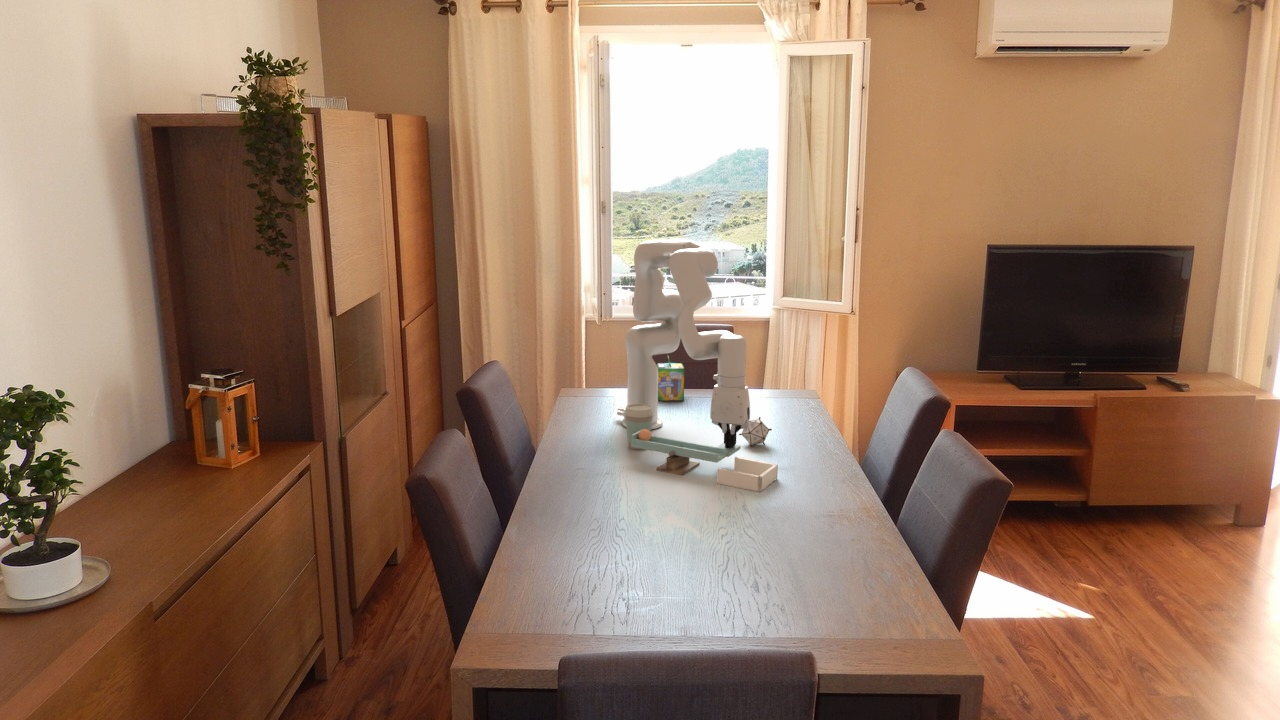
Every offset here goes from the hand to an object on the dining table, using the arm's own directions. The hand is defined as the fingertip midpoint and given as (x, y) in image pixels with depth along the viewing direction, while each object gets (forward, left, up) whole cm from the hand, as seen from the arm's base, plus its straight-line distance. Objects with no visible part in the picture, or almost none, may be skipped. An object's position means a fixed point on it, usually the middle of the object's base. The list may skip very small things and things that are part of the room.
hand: (729, 446), depth 258 cm
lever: (-11, -5, -1) cm, 12 cm away
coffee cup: (-29, +2, -6) cm, 30 cm away
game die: (-1, +22, -6) cm, 22 cm away
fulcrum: (-11, -8, -6) cm, 15 cm away
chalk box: (-47, +56, -6) cm, 73 cm away
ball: (-22, -8, +2) cm, 24 cm away
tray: (+9, -8, -6) cm, 14 cm away
